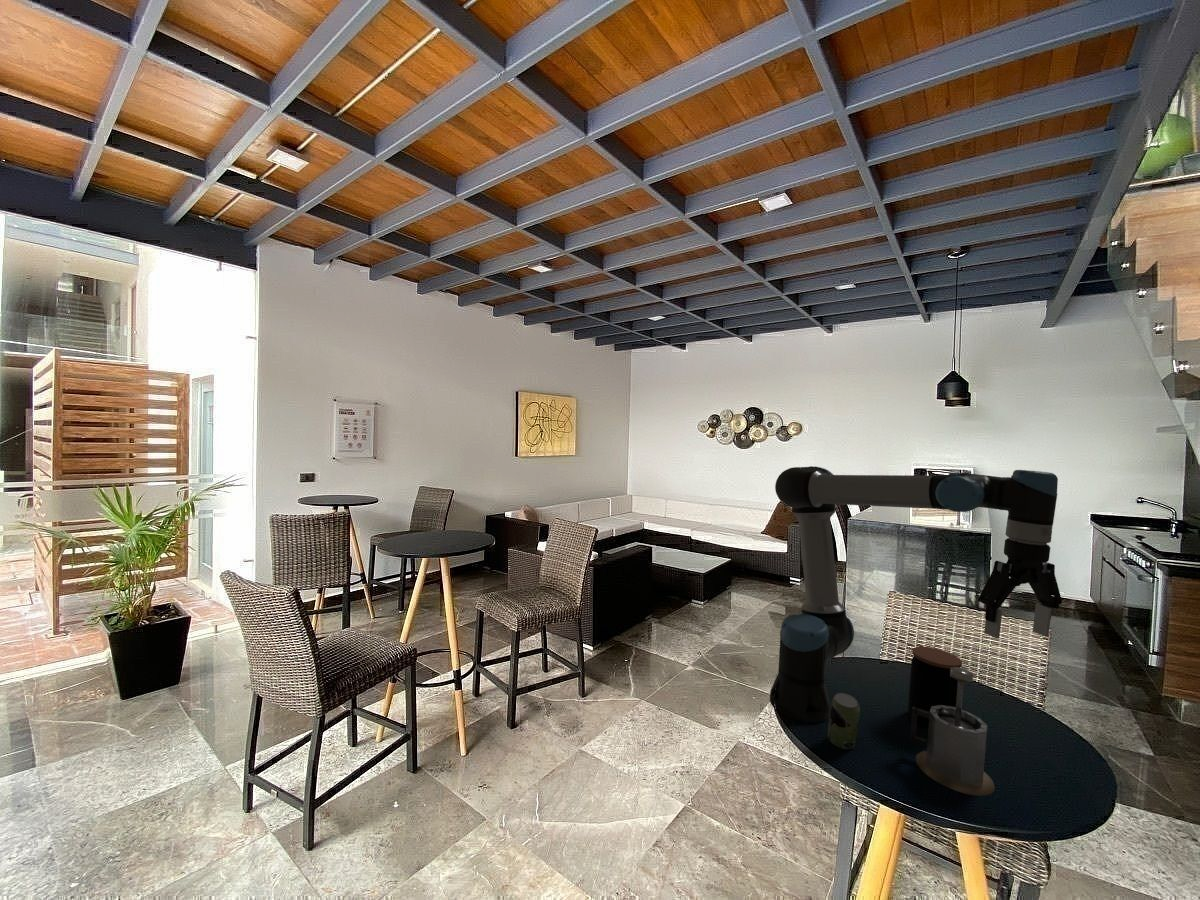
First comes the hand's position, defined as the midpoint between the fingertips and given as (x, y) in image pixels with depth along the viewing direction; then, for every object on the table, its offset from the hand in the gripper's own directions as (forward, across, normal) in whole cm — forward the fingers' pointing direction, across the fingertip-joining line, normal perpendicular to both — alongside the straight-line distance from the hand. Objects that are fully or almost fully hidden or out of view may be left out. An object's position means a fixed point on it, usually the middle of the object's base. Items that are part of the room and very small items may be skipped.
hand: (1016, 635), depth 107 cm
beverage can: (+32, -31, +12) cm, 46 cm away
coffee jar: (+31, -1, +17) cm, 36 cm away
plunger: (+21, -13, 0) cm, 25 cm away
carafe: (+30, -14, +1) cm, 34 cm away
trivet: (+31, -13, 0) cm, 34 cm away
